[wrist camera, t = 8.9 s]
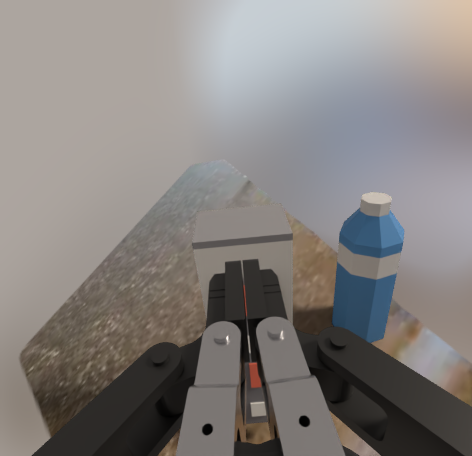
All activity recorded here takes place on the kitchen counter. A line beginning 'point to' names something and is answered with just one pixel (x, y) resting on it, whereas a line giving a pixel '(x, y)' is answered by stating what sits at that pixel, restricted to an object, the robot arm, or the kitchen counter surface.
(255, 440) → the kitchen counter surface
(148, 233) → the kitchen counter surface
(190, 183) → the kitchen counter surface
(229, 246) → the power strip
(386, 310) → the water bottle
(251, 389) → the lower rocker
